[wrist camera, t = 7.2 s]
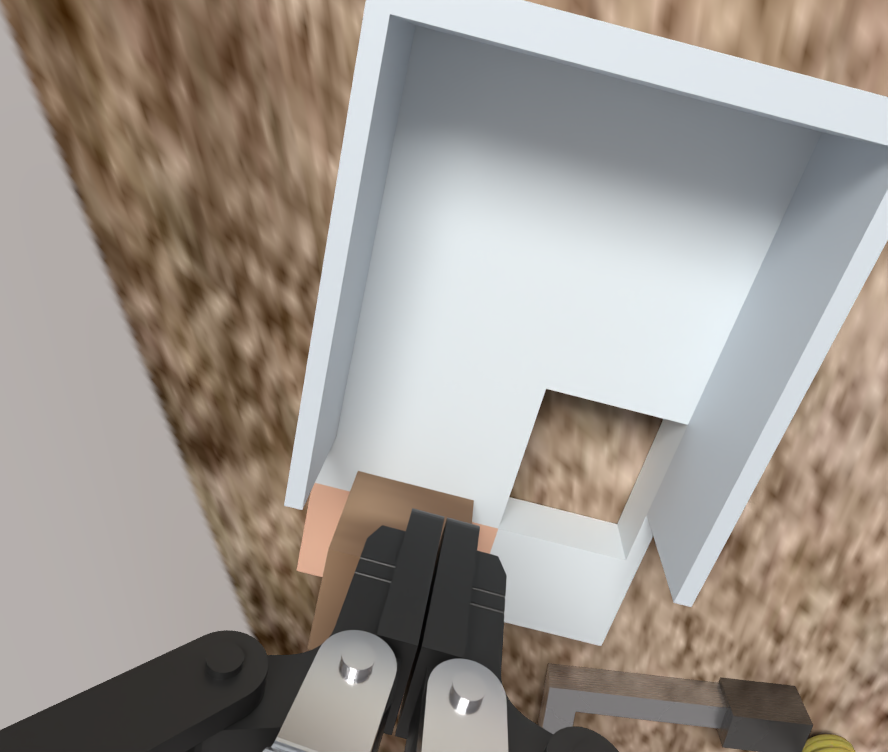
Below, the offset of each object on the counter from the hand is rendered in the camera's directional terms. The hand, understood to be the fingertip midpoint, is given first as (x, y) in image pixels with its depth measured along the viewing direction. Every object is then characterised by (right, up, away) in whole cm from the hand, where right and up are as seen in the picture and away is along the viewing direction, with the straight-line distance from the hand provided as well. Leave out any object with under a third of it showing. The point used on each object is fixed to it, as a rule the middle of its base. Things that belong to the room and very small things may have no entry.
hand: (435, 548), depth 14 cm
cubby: (+3, +4, +8) cm, 9 cm away
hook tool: (+9, -10, +14) cm, 20 cm away
